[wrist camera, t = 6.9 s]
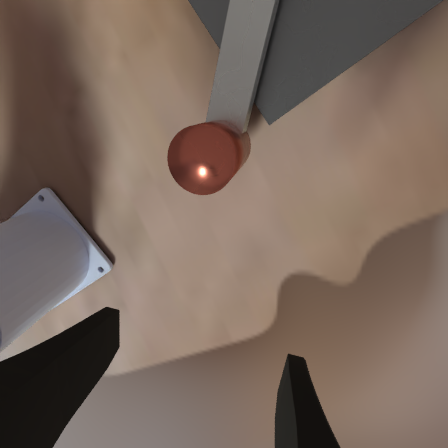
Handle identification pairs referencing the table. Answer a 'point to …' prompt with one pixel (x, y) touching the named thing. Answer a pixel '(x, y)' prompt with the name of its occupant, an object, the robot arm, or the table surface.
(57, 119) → the table surface
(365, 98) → the table surface
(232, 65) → the lever
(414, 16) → the base
